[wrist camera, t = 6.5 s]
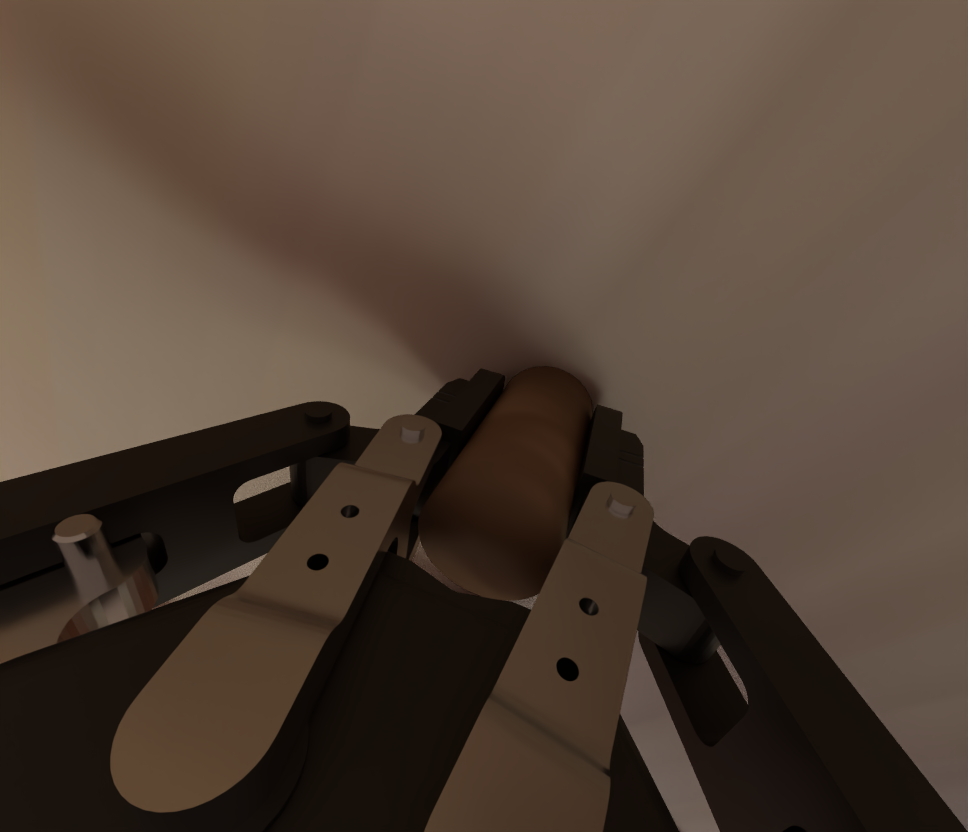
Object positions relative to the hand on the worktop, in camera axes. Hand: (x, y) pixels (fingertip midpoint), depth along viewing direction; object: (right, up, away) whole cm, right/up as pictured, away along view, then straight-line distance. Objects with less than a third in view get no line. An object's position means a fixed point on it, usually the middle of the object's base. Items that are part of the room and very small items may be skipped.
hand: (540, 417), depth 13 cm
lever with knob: (-1, -5, +4) cm, 7 cm away
